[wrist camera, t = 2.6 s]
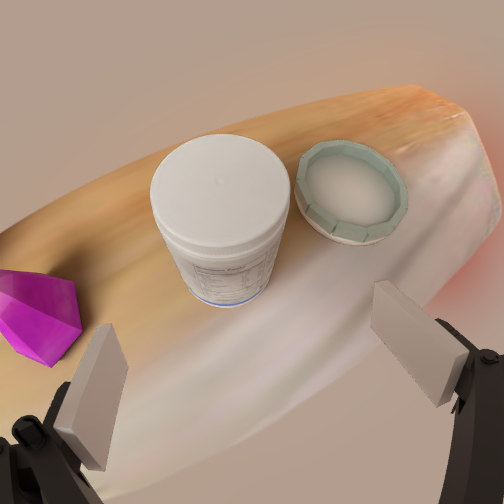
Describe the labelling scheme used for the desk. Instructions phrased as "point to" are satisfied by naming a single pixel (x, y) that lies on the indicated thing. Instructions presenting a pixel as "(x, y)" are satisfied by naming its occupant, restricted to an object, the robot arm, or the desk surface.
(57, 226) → the desk surface
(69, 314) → the magenta faceted rounded piece
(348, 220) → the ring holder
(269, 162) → the supplement tub
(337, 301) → the desk surface
